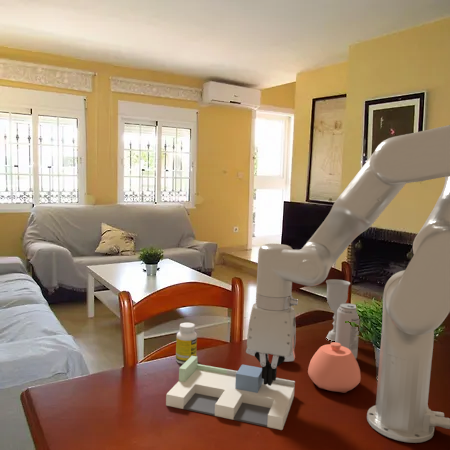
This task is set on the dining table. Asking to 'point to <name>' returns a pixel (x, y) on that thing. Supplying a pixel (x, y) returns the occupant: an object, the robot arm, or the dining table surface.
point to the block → (249, 378)
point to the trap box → (230, 396)
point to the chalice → (336, 300)
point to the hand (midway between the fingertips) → (268, 382)
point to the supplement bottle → (186, 342)
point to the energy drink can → (347, 327)
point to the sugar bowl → (334, 368)
